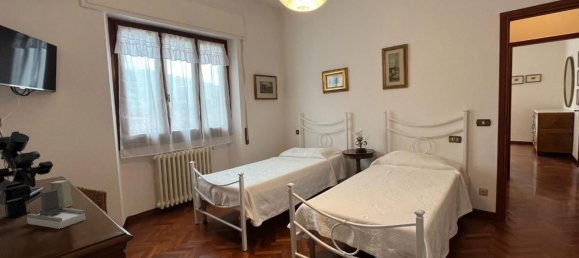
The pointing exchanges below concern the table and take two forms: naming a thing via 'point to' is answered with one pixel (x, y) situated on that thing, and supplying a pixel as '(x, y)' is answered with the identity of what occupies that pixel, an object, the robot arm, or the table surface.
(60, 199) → the skincare box
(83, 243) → the table surface
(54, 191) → the slider
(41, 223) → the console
